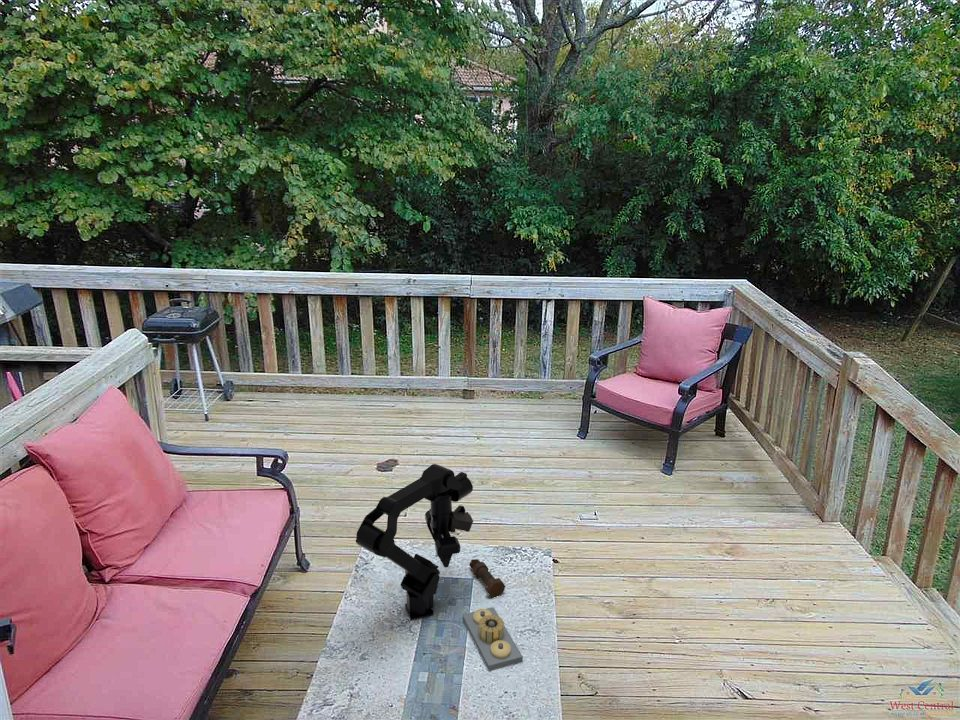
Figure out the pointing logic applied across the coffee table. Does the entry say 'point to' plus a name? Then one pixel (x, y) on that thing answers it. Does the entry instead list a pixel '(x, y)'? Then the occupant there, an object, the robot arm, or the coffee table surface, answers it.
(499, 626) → the brass gear
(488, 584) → the bolt
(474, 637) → the gear board
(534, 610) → the coffee table surface
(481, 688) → the coffee table surface
